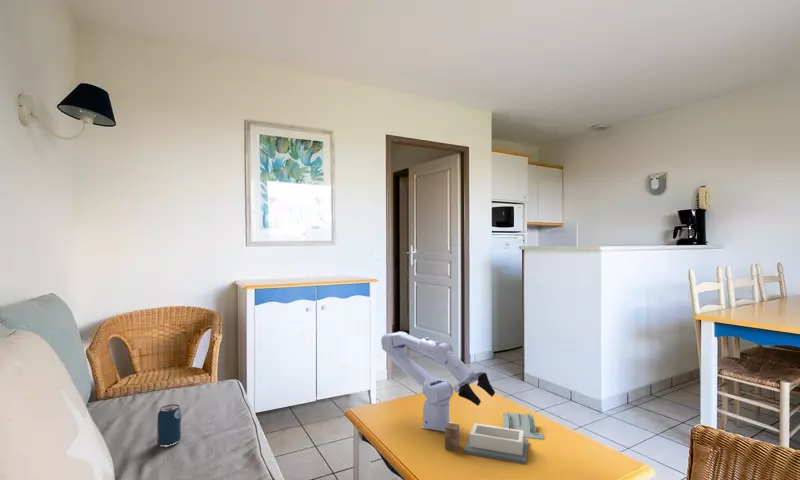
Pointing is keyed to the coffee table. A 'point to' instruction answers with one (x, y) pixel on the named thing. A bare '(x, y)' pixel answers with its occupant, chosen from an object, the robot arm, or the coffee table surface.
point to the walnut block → (452, 436)
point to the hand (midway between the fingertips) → (486, 399)
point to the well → (497, 443)
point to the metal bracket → (522, 424)
